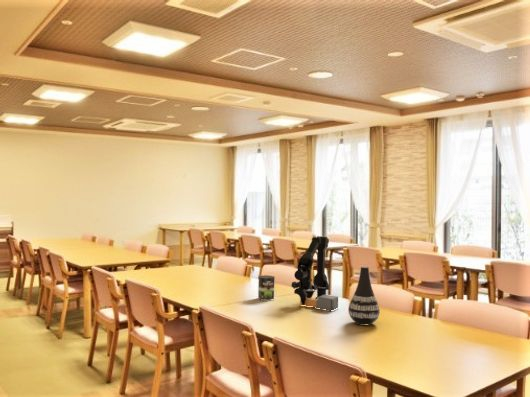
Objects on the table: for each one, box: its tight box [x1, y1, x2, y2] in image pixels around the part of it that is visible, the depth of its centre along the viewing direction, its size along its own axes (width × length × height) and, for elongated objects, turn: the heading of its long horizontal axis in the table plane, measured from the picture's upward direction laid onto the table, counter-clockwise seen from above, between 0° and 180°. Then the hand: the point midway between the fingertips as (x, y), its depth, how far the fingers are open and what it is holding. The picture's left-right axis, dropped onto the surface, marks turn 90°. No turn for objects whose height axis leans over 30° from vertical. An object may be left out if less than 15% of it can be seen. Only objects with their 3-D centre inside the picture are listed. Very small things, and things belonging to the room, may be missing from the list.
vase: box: [348, 266, 381, 325], centre depth 251 cm, size 16×16×30 cm
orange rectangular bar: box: [299, 297, 316, 307], centre depth 285 cm, size 20×3×5 cm, turn 61°
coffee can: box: [257, 275, 275, 301], centre depth 306 cm, size 10×10×14 cm
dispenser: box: [315, 294, 339, 310], centre depth 281 cm, size 10×8×7 cm
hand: (305, 303), depth 289 cm, fingers open, 6 cm apart
